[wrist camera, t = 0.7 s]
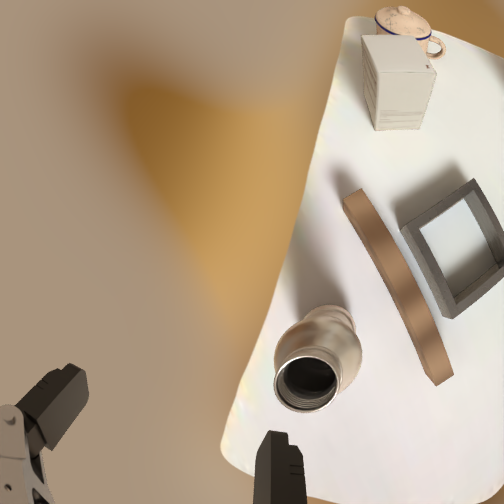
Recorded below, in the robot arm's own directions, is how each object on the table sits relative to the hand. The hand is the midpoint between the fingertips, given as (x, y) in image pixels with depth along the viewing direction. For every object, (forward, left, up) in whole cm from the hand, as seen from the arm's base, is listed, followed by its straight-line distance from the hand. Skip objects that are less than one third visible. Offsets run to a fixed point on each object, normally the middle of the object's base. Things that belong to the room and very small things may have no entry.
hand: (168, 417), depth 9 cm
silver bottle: (-1, +4, -26) cm, 26 cm away
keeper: (-14, +20, -26) cm, 35 cm away
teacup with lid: (-46, +13, -26) cm, 54 cm away
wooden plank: (-7, +12, -26) cm, 29 cm away
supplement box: (-33, +9, -26) cm, 43 cm away
